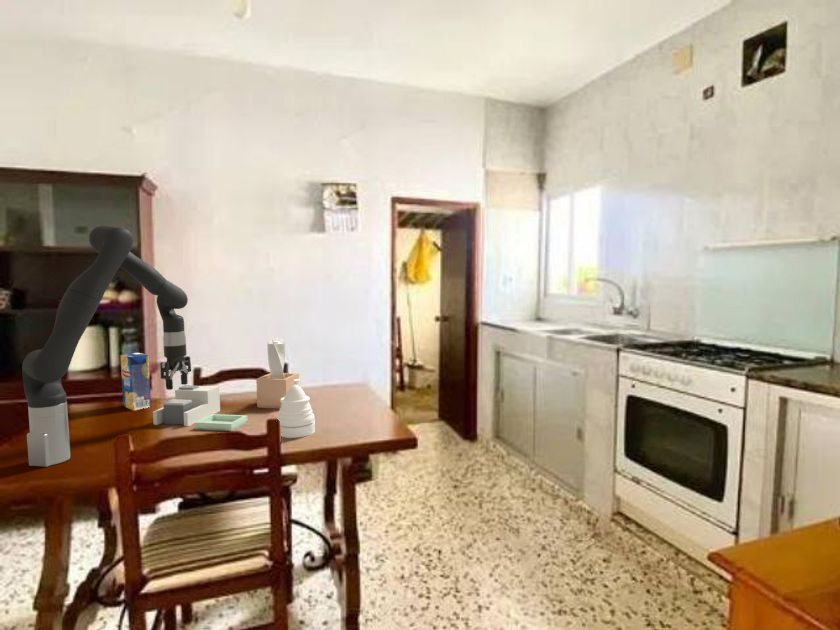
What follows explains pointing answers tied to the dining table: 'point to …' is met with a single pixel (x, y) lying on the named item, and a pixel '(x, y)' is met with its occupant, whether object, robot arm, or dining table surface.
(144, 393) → the beverage box
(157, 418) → the white dispenser chute
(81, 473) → the dining table surface
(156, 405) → the dining table surface
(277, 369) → the skyscraper
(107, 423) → the dining table surface
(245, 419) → the tray
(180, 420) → the grey gripped cube
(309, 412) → the honey pot
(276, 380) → the open tan box
